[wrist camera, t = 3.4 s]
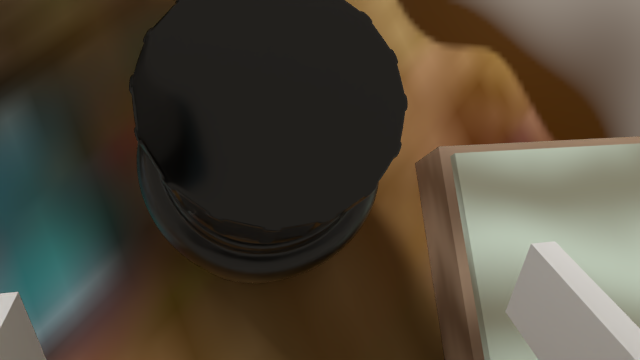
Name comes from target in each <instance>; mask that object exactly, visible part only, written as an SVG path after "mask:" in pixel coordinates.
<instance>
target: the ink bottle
mask: <svg viewBox="0 0 640 360" xmlns="http://www.w3.org/2000/svg"><path fill="white" fill-rule="evenodd" d="M143 42H144V44H143V47H142V50H141V52H140V55H139V58H138V61H137V64H136V68H135V71H134V74H133V75H131V77H130V82H129V90H130V92H131V94H132V102H133V111H134V118H135V124H136V127H135V129H134V132H135V136H136V138H137V141H138V147H137V172H138V180H139V185H140V189H141V193H142V196H143V199H144V202H145V204H146V207H147V209H148V211H149V213H150V215H151V217H152V219H153V221H154V222H155V224H156V226H157V227H158V229H159V230H160V231H161V233H162V234H163V235H164V237H165V238H166V239H167V240H168V241H169V242H170V244H171V245H172V246H173V247H174V248H175V249H176V250H178V251H179V252H180V253H181V254H182V255H183V256H184V257H186V258H187V259H188V260H190V261H191V262H193V263H194V264H196V265H197V266H199V267H201V268H203V269H204V270H206V271H208V272H210V273H212V274H214V275H216V276H218V277H221V278H223V279H226V280H230V281H234V282H240V283H265V282H272V281H276V280H281V279H285V278H289V277H293V276H296V275H299V274H302V273H304V272H307V271H309V270H311V269H313V268H315V267H317V266H319V265H321V264H322V263H324V262H326V261H327V260H329V259H330V258H332V257H333V256H334V255H335V254H337V253H338V252H339V251H340V250H341V249H343V248H344V247H345V246H346V245H347V244H348V243H349V242H350V241H351V240H352V238H353V237H354V236H355V235H356V234H357V232H358V231H359V230H360V228H361V227H362V225H363V224H364V222H365V220H366V218H367V217H368V215H369V213H370V211H371V208H372V206H373V203H374V200H375V197H376V193H377V189H378V183H379V180H380V179H381V177H382V176H383V174H384V173H385V171H386V170H387V168H388V167H389V165H390V163H391V162H392V160H393V159H394V158H395V157H397V155H398V154H399V151H400V149H401V141H400V140H401V135H402V129H403V123H404V116H405V111H406V110H407V97H406V95H405V94H404V90H403V85H402V81H401V77H400V73H399V70H398V66H397V64H398V60H397V57H396V55H395V53H394V51H393V50H392V49H390V48H389V47H388V45H387V44H386V42H385V41H384V39H383V38H382V36H381V35H380V34H379V32H378V31H377V29H376V28H375V27H374V25H373V24H372V20H371V19H370V17H369V16H368V15H367V14H365V13H364V12H362V11H359V10H358V9H356V8H355V7H354V6H352V5H351V4H349V3H348V2H346V1H345V0H176V2H175V5H174V6H173V7H172V8H171V9H170V10H169V11H168V12H167V13H166V14H165V15H164V16H163V17H162V18H161V19H160V21H159V22H158V23H157V24H156V25H155V26H154V27H153V28H150V29H149V30H148V31H147V33H146V34H145V36H144V39H143Z"/></svg>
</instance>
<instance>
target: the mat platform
mask: <svg viewBox="0 0 640 360" xmlns="http://www.w3.org/2000/svg"><path fill="white" fill-rule="evenodd" d="M415 166H416V172H417V179H418V185H419V192H420V199H421V205H422V212H423V218H424V225H425V232H426V238H427V245H428V251H429V258H430V265H431V271H432V278H433V285H434V291H435V298H436V304H437V311H438V318H439V324H440V331H441V337H442V344H443V351H444V357H445V360H538V358H537V357H536V355H535V354H534V352H533V351H532V349H531V348H530V347H529V345H528V344H527V342H526V341H525V339H524V338H523V336H522V335H521V334H520V332H519V331H518V329H517V328H516V326H515V325H514V323H513V322H512V321H511V319H510V318H509V316H508V315H507V313H506V312H505V311H506V309H507V306H508V303H509V301H510V298H511V295H512V293H513V290H514V287H515V285H516V282H517V280H518V277H519V274H520V272H521V269H522V266H523V264H524V261H525V258H526V256H527V253H528V250H529V248H530V245H531V244H532V243H542V242H553V241H555V242H556V243H557V244H558V245H559V246H560V247H561V248H562V249H563V250H564V251H565V252H566V253H567V254H568V255H569V256H570V257H571V258H572V259H573V260H574V261H575V262H576V263H577V264H578V265H579V266H580V268H581V269H582V270H583V271H584V272H585V273H586V274H587V275H588V276H589V277H590V278H591V279H592V280H593V281H594V282H595V283H596V284H597V285H598V286H599V287H600V288H601V289H602V290H603V291H604V292H605V293H606V294H607V295H608V296H609V297H610V298H611V299H612V300H613V301H614V302H615V303H616V305H617V306H618V307H619V308H620V309H621V310H622V311H623V312H624V313H625V314H626V315H627V316H628V317H629V318H630V319H631V320H632V321H633V322H634V323H635V324H636V325H637V326H638V327H639V328H640V137H621V138H602V139H581V140H561V141H541V142H521V143H501V144H481V145H461V146H441V147H437V148H436V149H435V150H433V151H432V152H430V153H429V154H428V155H426V156H425V157H423V158H422V159H421V160H419V161H418V162H416V163H415Z"/></svg>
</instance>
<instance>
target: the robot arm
mask: <svg viewBox="0 0 640 360" xmlns="http://www.w3.org/2000/svg"><path fill="white" fill-rule="evenodd" d="M505 312H506V313H507V315H508V316H509V318H510V319H511V321H512V322H513V323H514V325H515V326H516V328H517V329H518V331H519V332H520V334H521V335H522V336H523V338H524V339H525V341H526V342H527V344H528V345H529V347H530V348H531V349H532V351H533V352H534V354H535V355H536V357H537V358H538V360H640V328H639V327H638V326H637V325H636V324H635V323H634V322H633V321H632V320H631V319H630V318H629V317H628V316H627V315H626V314H625V313H624V312H623V311H622V310H621V309H620V308H619V307H618V306H617V305H616V303H615V302H614V301H613V300H612V299H611V298H610V297H609V296H608V295H607V294H606V293H605V292H604V291H603V290H602V289H601V288H600V287H599V286H598V285H597V284H596V283H595V282H594V281H593V280H592V279H591V278H590V277H589V276H588V275H587V274H586V273H585V272H584V271H583V270H582V269H581V268H580V266H579V265H578V264H577V263H576V262H575V261H574V260H573V259H572V258H571V257H570V256H569V255H568V254H567V253H566V252H565V251H564V250H563V249H562V248H561V247H560V246H559V245H558V244H557V243H556V242H555V241H553V242H542V243H532V244H531V245H530V248H529V250H528V253H527V256H526V258H525V261H524V264H523V266H522V269H521V272H520V274H519V277H518V280H517V282H516V285H515V287H514V290H513V293H512V295H511V298H510V301H509V303H508V306H507V309H506V311H505ZM0 360H46V358H45V355H44V353H43V350H42V348H41V346H40V343H39V341H38V338H37V336H36V334H35V331H34V329H33V326H32V324H31V321H30V319H29V317H28V314H27V312H26V309H25V307H24V304H23V302H22V300H21V297H20V295H19V292H11V293H0Z"/></svg>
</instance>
